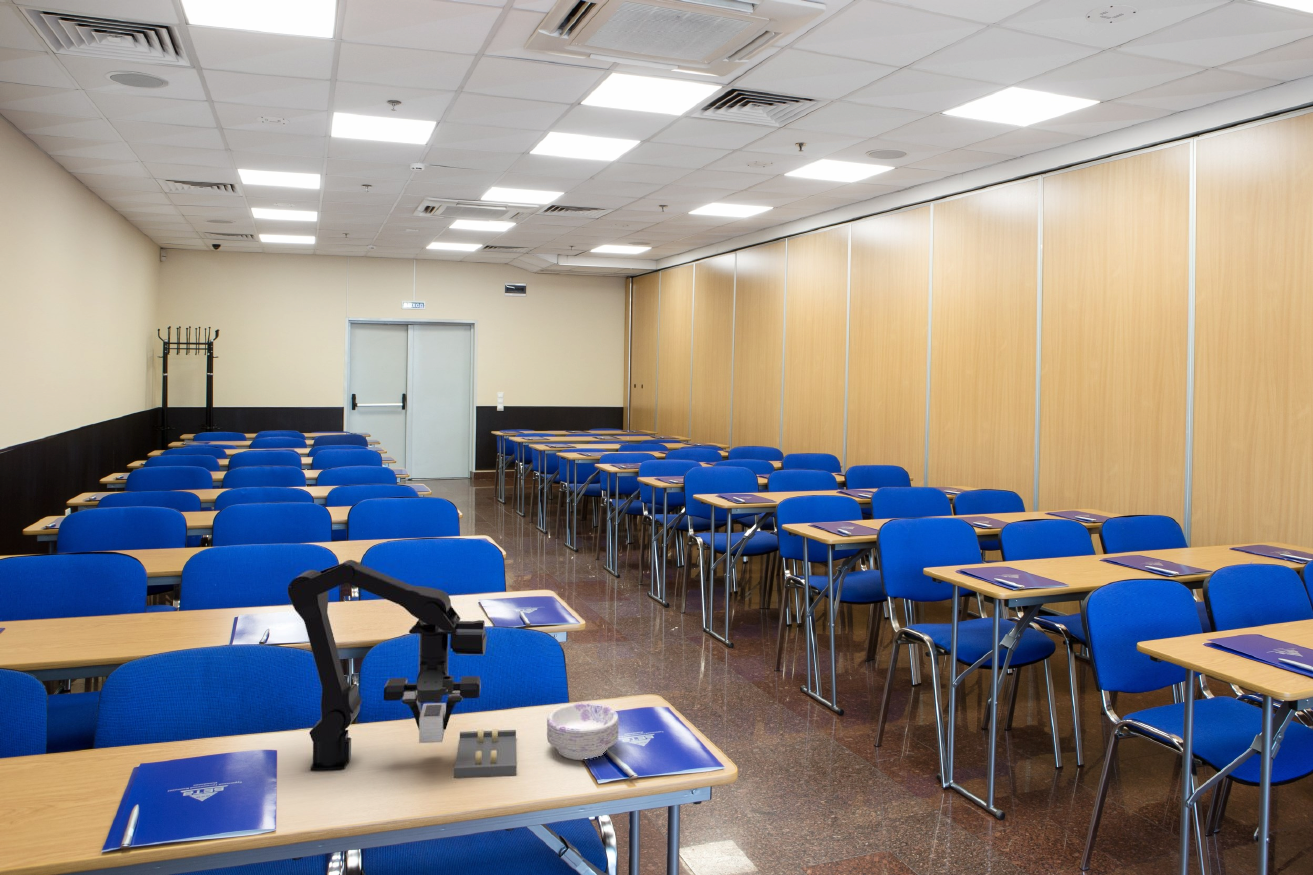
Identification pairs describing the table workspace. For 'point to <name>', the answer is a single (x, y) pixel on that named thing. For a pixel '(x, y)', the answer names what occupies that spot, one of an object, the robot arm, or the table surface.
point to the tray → (486, 754)
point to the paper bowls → (582, 730)
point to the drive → (432, 723)
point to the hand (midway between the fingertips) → (432, 729)
